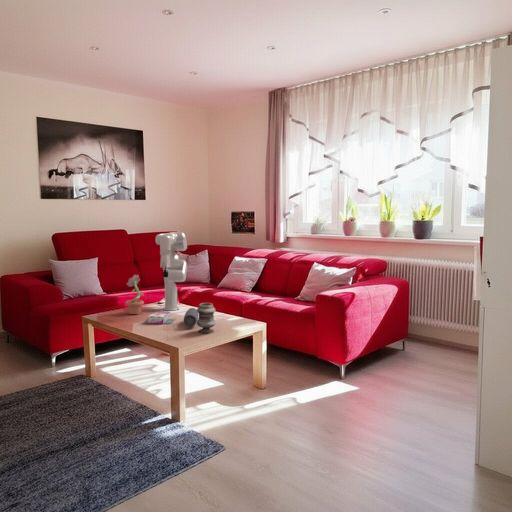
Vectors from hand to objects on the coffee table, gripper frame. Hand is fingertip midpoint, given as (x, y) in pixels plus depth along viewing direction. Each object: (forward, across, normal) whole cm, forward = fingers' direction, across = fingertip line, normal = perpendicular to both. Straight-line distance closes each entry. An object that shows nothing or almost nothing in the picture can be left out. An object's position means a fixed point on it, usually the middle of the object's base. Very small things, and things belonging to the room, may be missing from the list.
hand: (165, 277), depth 334 cm
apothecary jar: (+29, +43, +37) cm, 64 cm away
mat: (+29, +18, 0) cm, 34 cm away
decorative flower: (+29, -5, -25) cm, 39 cm away
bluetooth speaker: (+29, +26, +24) cm, 46 cm away
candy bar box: (+26, +10, 0) cm, 28 cm away
